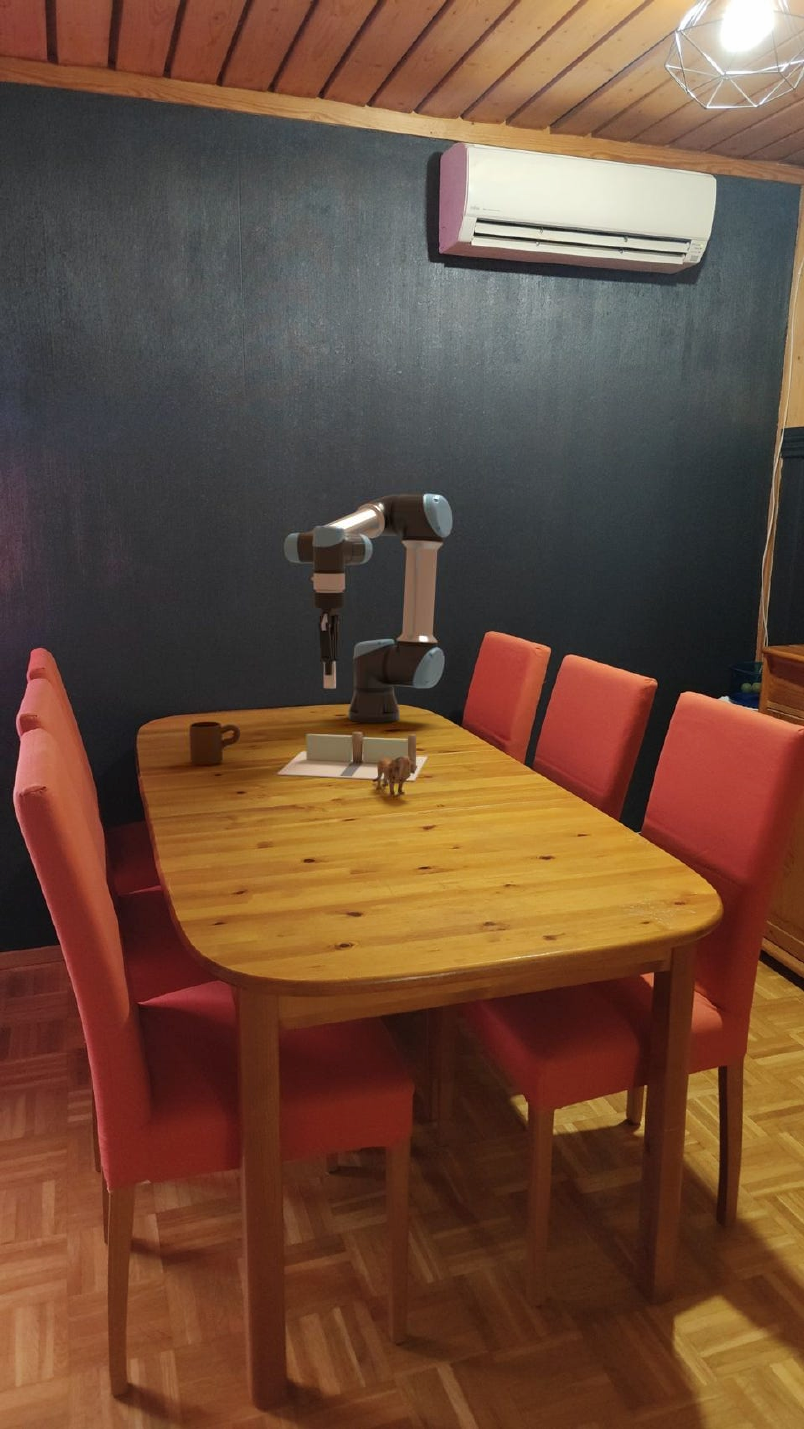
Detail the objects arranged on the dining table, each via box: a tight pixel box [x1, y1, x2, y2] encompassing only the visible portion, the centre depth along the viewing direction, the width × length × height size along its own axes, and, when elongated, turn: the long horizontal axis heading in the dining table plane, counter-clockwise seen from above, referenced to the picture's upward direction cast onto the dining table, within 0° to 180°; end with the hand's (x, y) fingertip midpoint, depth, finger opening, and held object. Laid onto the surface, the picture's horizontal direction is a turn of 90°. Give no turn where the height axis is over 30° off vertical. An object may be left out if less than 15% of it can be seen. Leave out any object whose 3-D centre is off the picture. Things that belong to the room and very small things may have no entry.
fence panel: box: [305, 733, 353, 761], centre depth 233 cm, size 2×11×6 cm, turn 81°
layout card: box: [276, 750, 429, 783], centre depth 230 cm, size 22×32×1 cm
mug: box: [188, 721, 241, 767], centre depth 232 cm, size 12×8×9 cm, turn 102°
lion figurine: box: [371, 756, 418, 798], centre depth 208 cm, size 15×5×9 cm, turn 35°
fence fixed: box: [351, 731, 417, 765], centre depth 231 cm, size 2×16×7 cm, turn 81°
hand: (329, 687), depth 236 cm, fingers closed
